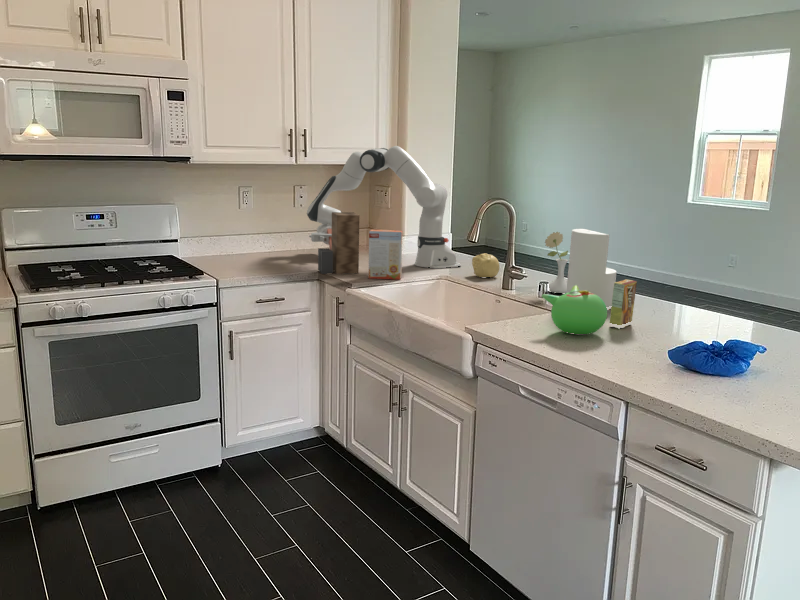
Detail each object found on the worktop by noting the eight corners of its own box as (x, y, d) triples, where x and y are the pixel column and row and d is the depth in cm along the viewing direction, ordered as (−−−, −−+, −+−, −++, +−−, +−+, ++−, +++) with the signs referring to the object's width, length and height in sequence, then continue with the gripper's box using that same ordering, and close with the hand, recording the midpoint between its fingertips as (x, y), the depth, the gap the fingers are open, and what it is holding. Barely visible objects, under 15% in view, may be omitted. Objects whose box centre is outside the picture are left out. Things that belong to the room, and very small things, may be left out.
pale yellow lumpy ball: (467, 275, 306) (468, 251, 304) (490, 274, 310) (492, 250, 308) (479, 280, 296) (480, 255, 293) (503, 278, 300) (504, 255, 298)
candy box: (620, 322, 230) (625, 278, 226) (632, 325, 227) (637, 280, 224) (608, 327, 223) (613, 282, 220) (620, 330, 221) (625, 284, 217)
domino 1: (328, 270, 307) (329, 248, 305) (329, 270, 306) (329, 248, 303) (318, 270, 306) (318, 248, 304) (318, 270, 304) (318, 249, 302)
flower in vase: (570, 290, 280) (575, 230, 274) (576, 296, 268) (582, 234, 263) (538, 289, 280) (543, 229, 274) (543, 295, 269) (548, 233, 263)
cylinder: (580, 312, 243) (588, 234, 237) (556, 301, 260) (563, 228, 253) (622, 310, 248) (630, 234, 242) (596, 299, 264) (603, 228, 258)
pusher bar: (332, 232, 336) (333, 228, 333) (338, 263, 324) (339, 259, 322) (326, 232, 335) (327, 228, 333) (332, 263, 323) (333, 259, 321)
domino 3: (331, 272, 301) (332, 250, 298) (332, 273, 299) (332, 251, 297) (320, 273, 299) (320, 250, 297) (321, 273, 298) (321, 251, 295)
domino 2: (330, 271, 304) (330, 249, 302) (331, 272, 302) (331, 250, 300) (319, 271, 303) (319, 249, 300) (320, 272, 301) (320, 250, 299)
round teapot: (578, 344, 203) (582, 296, 200) (536, 330, 216) (540, 286, 213) (615, 336, 213) (620, 290, 210) (573, 323, 227) (577, 281, 223)
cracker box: (401, 277, 295) (403, 230, 290) (400, 280, 289) (401, 231, 284) (369, 276, 296) (371, 228, 292) (367, 278, 290) (369, 230, 286)
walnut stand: (352, 268, 313) (353, 212, 307) (358, 273, 301) (359, 215, 295) (331, 269, 310) (331, 212, 304) (336, 273, 298) (337, 215, 293)
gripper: (308, 229, 334) (313, 233, 321) (348, 229, 340) (354, 232, 327) (308, 241, 336) (313, 246, 323) (348, 241, 342) (354, 245, 329)
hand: (334, 239), depth 325 cm, fingers open, 8 cm apart
